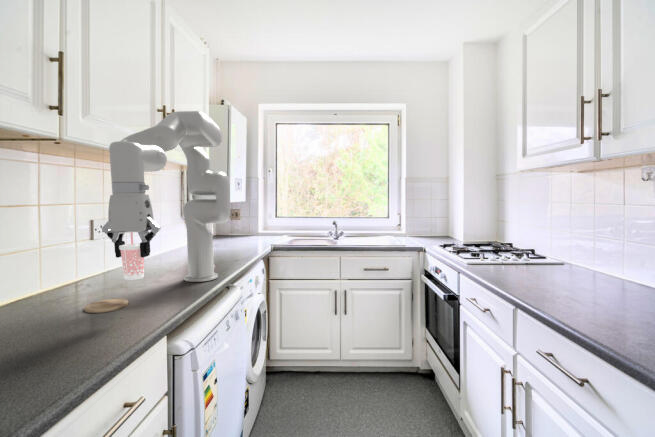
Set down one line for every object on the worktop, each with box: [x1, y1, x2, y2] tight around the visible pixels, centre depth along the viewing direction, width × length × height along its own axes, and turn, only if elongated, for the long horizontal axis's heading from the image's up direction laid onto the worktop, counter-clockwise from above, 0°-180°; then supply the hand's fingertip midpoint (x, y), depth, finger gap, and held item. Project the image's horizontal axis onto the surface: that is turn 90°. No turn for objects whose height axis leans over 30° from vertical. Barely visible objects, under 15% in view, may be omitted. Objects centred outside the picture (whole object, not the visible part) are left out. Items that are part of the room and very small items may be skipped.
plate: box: [84, 298, 129, 314], centre depth 102 cm, size 11×11×1 cm
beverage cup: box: [119, 232, 145, 281], centre depth 92 cm, size 6×6×14 cm
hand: (133, 255), depth 92 cm, fingers closed on beverage cup, 6 cm apart
